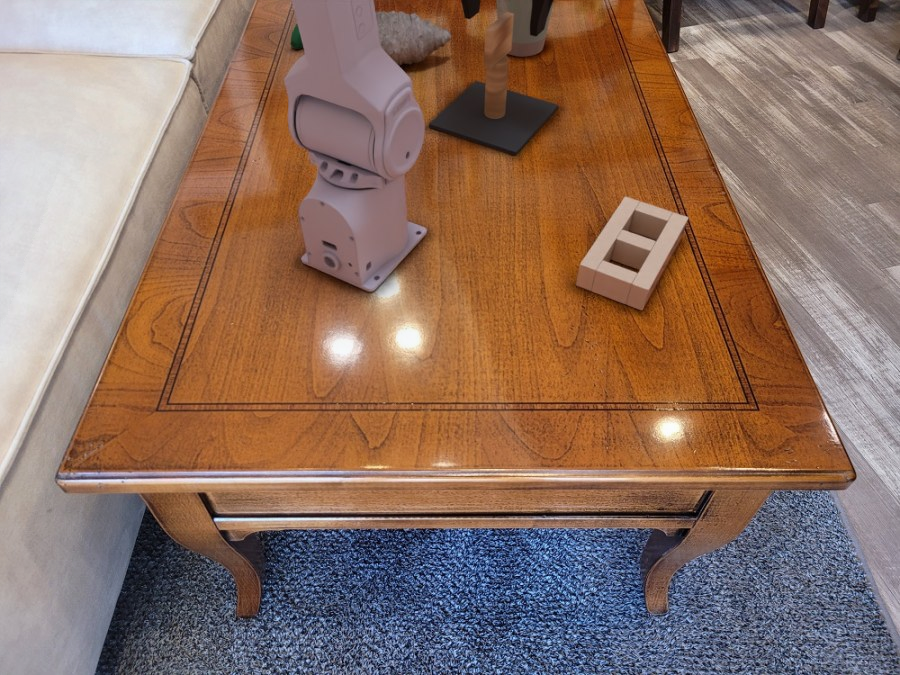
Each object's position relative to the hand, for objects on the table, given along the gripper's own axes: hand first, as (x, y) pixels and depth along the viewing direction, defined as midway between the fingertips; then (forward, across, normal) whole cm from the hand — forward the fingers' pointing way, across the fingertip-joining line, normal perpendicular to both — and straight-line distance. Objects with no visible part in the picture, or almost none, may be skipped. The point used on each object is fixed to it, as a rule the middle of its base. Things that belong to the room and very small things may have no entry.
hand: (503, 23), depth 70 cm
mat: (+10, 0, +1) cm, 10 cm away
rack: (+10, -22, +16) cm, 29 cm away
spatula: (+10, 0, +1) cm, 10 cm away
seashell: (+11, +17, -4) cm, 20 cm away
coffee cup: (+11, +5, -16) cm, 20 cm away
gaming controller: (+11, +27, -4) cm, 29 cm away
